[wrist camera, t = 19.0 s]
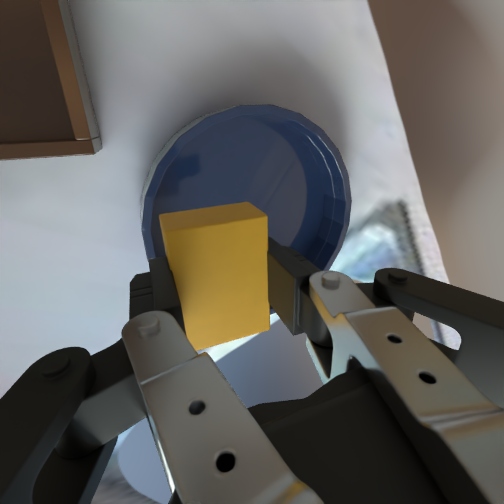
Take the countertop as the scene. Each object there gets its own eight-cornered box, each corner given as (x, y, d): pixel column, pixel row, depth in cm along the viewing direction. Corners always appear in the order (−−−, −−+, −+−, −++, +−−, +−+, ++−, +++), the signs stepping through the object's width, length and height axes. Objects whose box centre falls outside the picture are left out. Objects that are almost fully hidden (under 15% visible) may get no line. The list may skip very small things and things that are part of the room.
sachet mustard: (158, 213, 11) (163, 231, 9) (248, 200, 12) (268, 214, 10) (178, 323, 13) (186, 354, 11) (253, 304, 14) (270, 330, 12)
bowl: (119, 110, 20) (116, 107, 17) (332, 105, 25) (362, 102, 22) (160, 316, 27) (163, 342, 24) (320, 279, 32) (341, 296, 29)
